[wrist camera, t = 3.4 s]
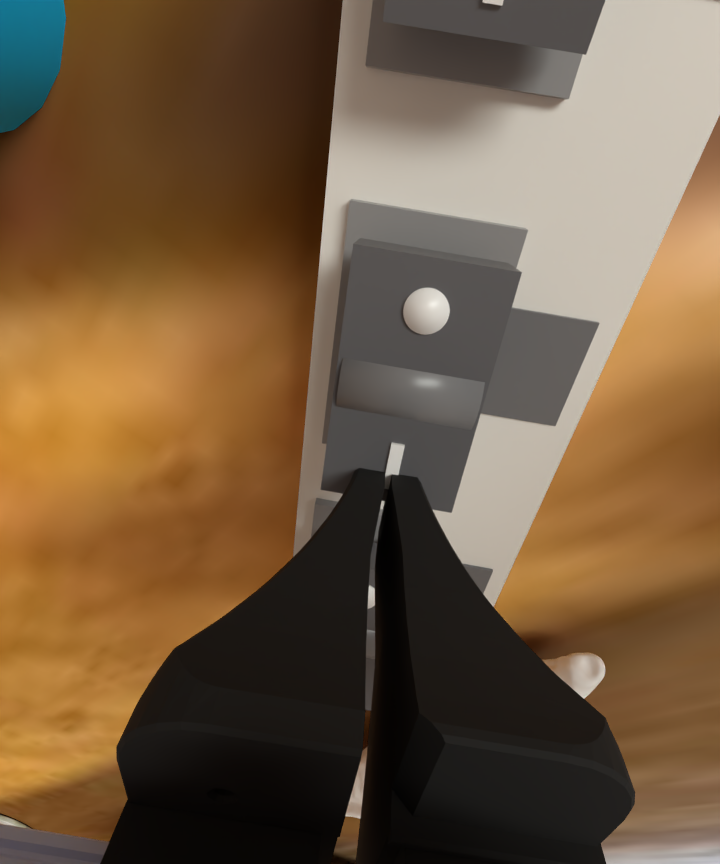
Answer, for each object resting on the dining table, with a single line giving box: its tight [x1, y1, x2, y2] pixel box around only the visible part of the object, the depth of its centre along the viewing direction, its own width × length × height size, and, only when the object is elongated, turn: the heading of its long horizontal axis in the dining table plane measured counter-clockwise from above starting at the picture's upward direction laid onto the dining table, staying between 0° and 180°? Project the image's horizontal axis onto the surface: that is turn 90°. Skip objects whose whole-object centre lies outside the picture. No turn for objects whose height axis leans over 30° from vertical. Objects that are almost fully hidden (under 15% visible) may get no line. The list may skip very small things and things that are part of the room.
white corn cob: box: [345, 653, 605, 819], centre depth 27 cm, size 5×20×5 cm, turn 147°
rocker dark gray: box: [321, 238, 522, 513], centre depth 11 cm, size 3×6×2 cm, turn 172°
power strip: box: [293, 0, 720, 607], centre depth 13 cm, size 8×34×5 cm, turn 172°
